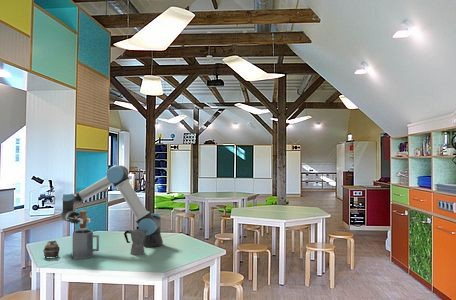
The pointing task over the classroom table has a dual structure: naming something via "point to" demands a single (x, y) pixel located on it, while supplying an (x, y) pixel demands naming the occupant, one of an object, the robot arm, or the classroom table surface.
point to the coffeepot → (136, 241)
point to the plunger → (83, 216)
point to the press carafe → (83, 244)
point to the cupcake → (51, 249)
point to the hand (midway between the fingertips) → (86, 221)
